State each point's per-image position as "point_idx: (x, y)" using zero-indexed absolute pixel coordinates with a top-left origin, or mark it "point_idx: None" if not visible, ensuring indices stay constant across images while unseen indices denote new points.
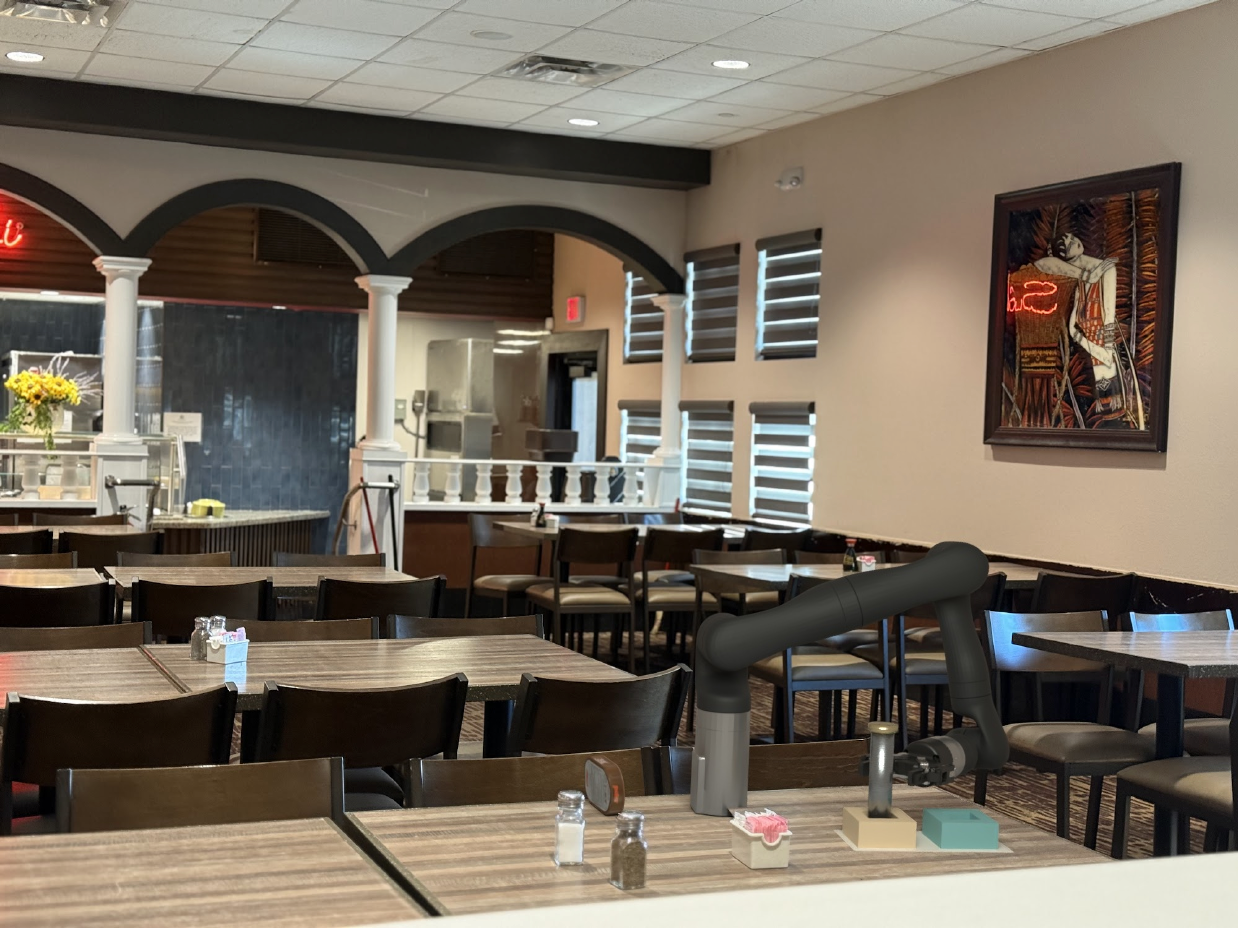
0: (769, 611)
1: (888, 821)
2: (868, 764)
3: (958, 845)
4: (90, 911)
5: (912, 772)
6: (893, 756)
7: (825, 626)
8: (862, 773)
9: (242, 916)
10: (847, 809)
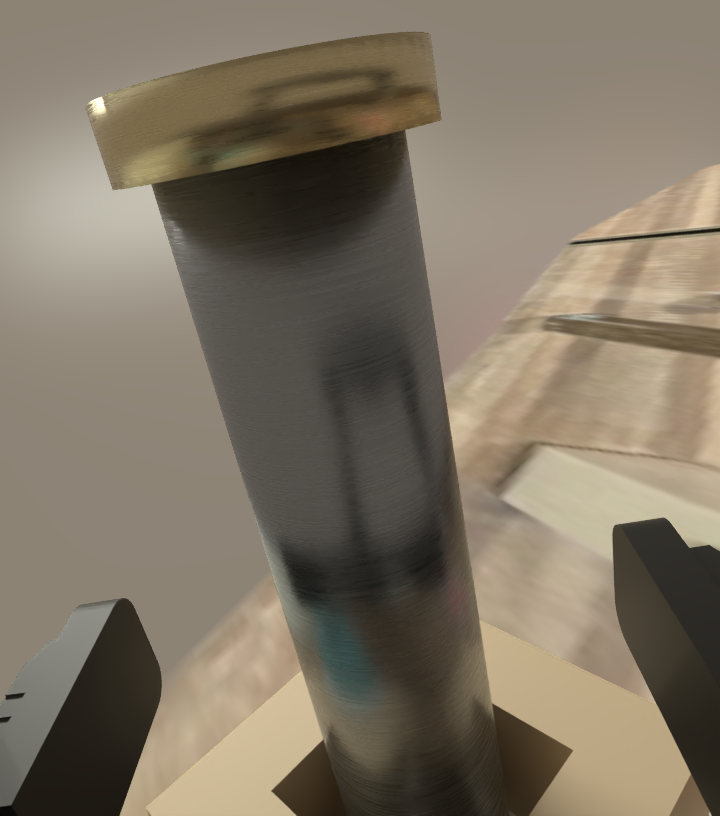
0: None
1: (295, 688)
2: (655, 610)
3: None
4: (707, 174)
5: (83, 608)
6: (229, 433)
7: None
8: (615, 592)
9: (647, 200)
10: (639, 708)
